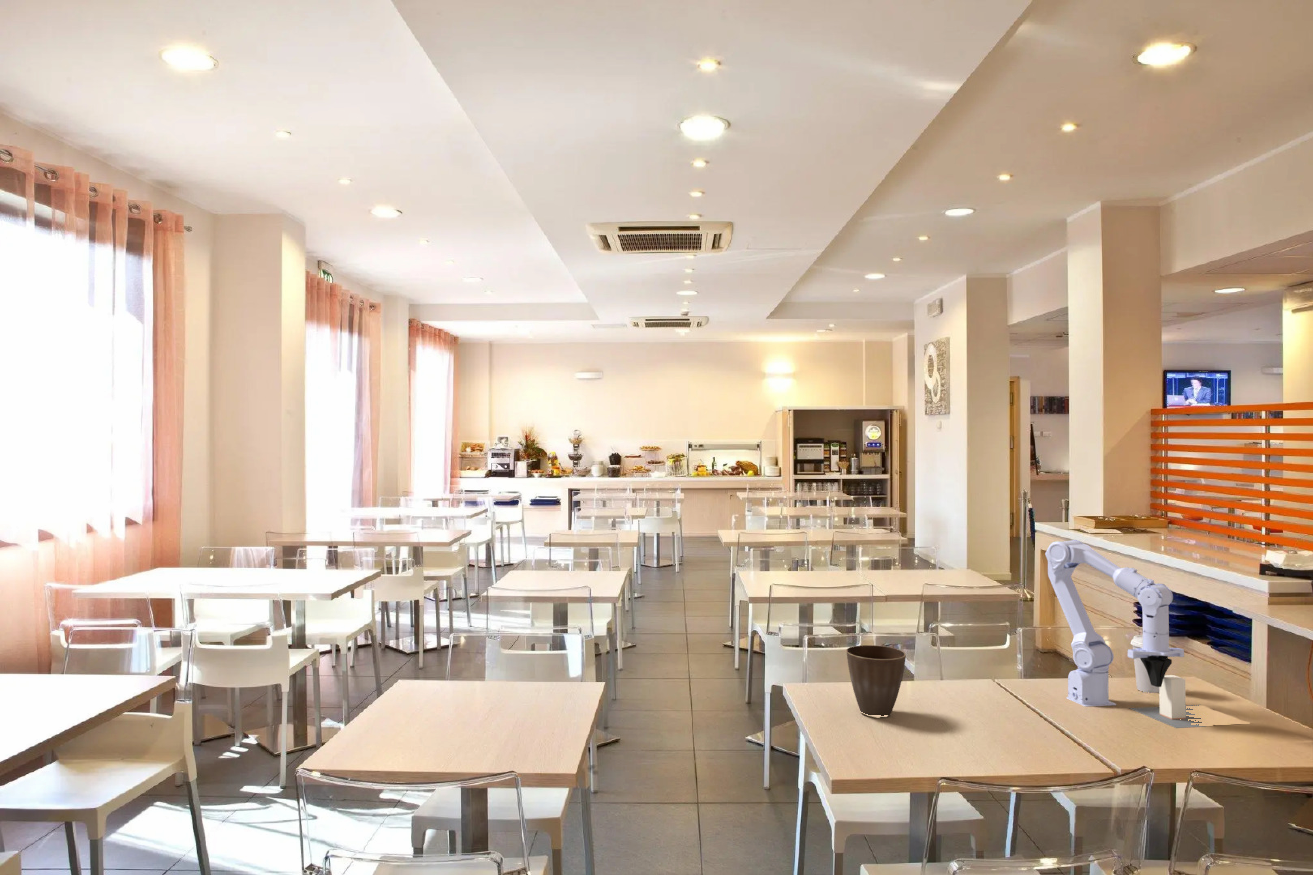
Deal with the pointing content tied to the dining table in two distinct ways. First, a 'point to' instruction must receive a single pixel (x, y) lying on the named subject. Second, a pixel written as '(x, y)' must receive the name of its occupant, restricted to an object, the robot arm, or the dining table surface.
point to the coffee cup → (1142, 669)
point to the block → (1172, 697)
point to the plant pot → (876, 677)
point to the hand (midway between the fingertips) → (1156, 685)
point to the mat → (1177, 723)
